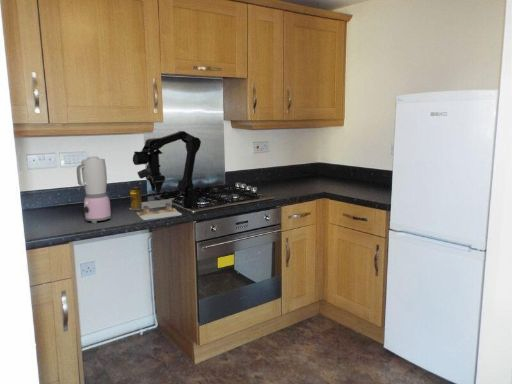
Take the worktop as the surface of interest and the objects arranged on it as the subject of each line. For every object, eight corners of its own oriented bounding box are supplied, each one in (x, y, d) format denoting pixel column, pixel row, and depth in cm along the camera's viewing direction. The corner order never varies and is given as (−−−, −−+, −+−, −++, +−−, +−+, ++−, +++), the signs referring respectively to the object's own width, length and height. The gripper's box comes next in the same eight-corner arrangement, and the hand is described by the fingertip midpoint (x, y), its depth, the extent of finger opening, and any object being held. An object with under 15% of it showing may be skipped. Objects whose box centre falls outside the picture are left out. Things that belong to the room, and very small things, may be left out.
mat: (177, 212, 230) (177, 210, 230) (181, 215, 223) (181, 214, 223) (139, 216, 221) (139, 215, 221) (143, 220, 214) (143, 219, 214)
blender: (101, 216, 224) (96, 155, 218) (116, 219, 217) (111, 156, 211) (74, 222, 211) (67, 158, 205) (89, 226, 205) (83, 159, 198)
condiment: (127, 209, 239) (126, 188, 237) (137, 206, 247) (136, 185, 244) (138, 210, 236) (136, 188, 234) (147, 207, 244) (146, 186, 241)
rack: (173, 209, 236) (173, 201, 235) (176, 211, 231) (176, 203, 230) (136, 214, 227) (136, 205, 226) (139, 216, 221) (138, 207, 220)
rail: (170, 204, 233) (170, 199, 232) (172, 205, 230) (171, 200, 230) (140, 208, 225) (140, 202, 225) (142, 209, 223) (141, 203, 222)
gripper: (134, 162, 228) (136, 191, 231) (142, 166, 212) (144, 197, 215) (154, 160, 233) (156, 189, 236) (164, 164, 217) (166, 194, 220)
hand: (155, 192), depth 227 cm, fingers open, 9 cm apart
